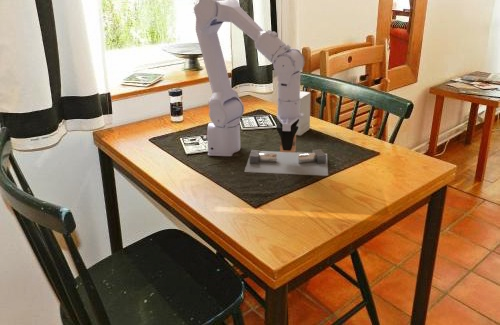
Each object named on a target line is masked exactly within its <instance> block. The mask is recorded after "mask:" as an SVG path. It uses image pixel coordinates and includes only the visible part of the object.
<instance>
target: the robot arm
mask: <svg viewBox="0 0 500 325" xmlns="http://www.w3.org/2000/svg"><path fill="white" fill-rule="evenodd" d="M193 11H194V16H195V32H196V37H197V41H198V44H199V47H200V52H201V55H202V58H203V63H204V67H205V69H206V74H207V78H208V80H209V85H210V88H211V92H212V94H211V95H210V98H209V100H208V106H209V112H208V117H209V120H210V122H208V124H207V130H206V131H207V132H206V137H207V138H206V141H207V156H210V157H211V156H213V157H233V155H234V153H237V152H239V151H240V150H241V125H240V124H241V123H240V122H241V117H242V116H243V115H244V113H245V106H244V103H243V101H242V100H241V98H240V96H239V93H238V92H237V90H235V89H233V88H232V86H231V82H230V78H229V74H228V70H227V67H226V62H225V58H224V55H223V51H222V47H221V42H220V39H219V35H218V31H219V30H220V28H221V27H222V24H223V23H231V24H233V25H234V26H235V27H237V29H239V30H240V31H242V33H244V34H245V35H247V36H248V37H249V38H250V39H251V40H253V42H254V49H256V50H257V52H259V53H260V54H261V55H262V56H264V57H265V58H266V59H267V60H268V61H269V62H270V63H271V64H272V66H273V71H274V72H275V74H276V76H277V79H276V80H277V109H276V110H277V113H276V118H277V120H278V121H277V122H279V123H278V124H276V131H277V133H278V134H279V135H278V136H280V137H279V138H281V142H282V147H283V150H286V151H291V149H292V145H293V139H294V136H295V134H296V132H297V130H298V126H297V123H298V122H299V119H300V118H303V117H304V114H300V113H299V102H300V91H301V70H303V68H304V66H305V57H304V55H303V54H302V52H301V51H300V50H299V49H298V48H292V47H291V45H289V44H286V43H285V42H284V41H283V40H282V39H280V38H279V37H278V33H277V32H276V31H272V30H271V29H270V30H263V28H261V26H260V25H259V24H257V22H255V20H254V19H253V18H252V17H250V15H249V14H248V13H247V12H246V11H245V10H244V9H243V8H242V7H241V5H240V3H239V2H238V0H197V1H196V3H195V4H194V7H193Z"/></svg>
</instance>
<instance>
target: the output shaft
mask: <svg viewBox="0 0 500 325" xmlns="http://www.w3.org/2000/svg"><path fill="white" fill-rule="evenodd" d="M306 153H307V154H298V155H297V161H298V163H305V162H314V161H315V162H316V163H317V164H324V163H326V155H325V154H326V153H325V152H324V151H323V150H322V149H321V148H317V149H312V152H306Z"/></svg>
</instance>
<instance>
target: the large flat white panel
mask: <svg viewBox="0 0 500 325" xmlns="http://www.w3.org/2000/svg"><path fill="white" fill-rule="evenodd" d="M260 153H274V154H277V162H259V164H250V155H249V157H248V160H247V162H246V164H245V168H244V170H243V171H244V173H259V174H260V173H261V174H277V175H279V174H281V175H304V176H323V177H324V176H325V177H326V176H329V168H328V166H329V164H328V153H325V155H326V163H324V164H317V163H316V162H315V161H314V162H305V163H298V161H297V155H298V154H307V153H308V152H298V151H297V152H296V151H295V153H291V152H280V151H271V150H270V151H268V150H260Z"/></svg>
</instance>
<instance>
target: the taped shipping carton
mask: <svg viewBox="0 0 500 325" xmlns="http://www.w3.org/2000/svg"><path fill="white" fill-rule="evenodd" d="M279 138H280V137H279ZM279 140H280V141H279V152H291V153H295V152H296V146H297V135H296V134H295V136H294V139H293V145H292V149H291V151H286V150H283V147H282V142H281V138H280V139H279Z"/></svg>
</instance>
